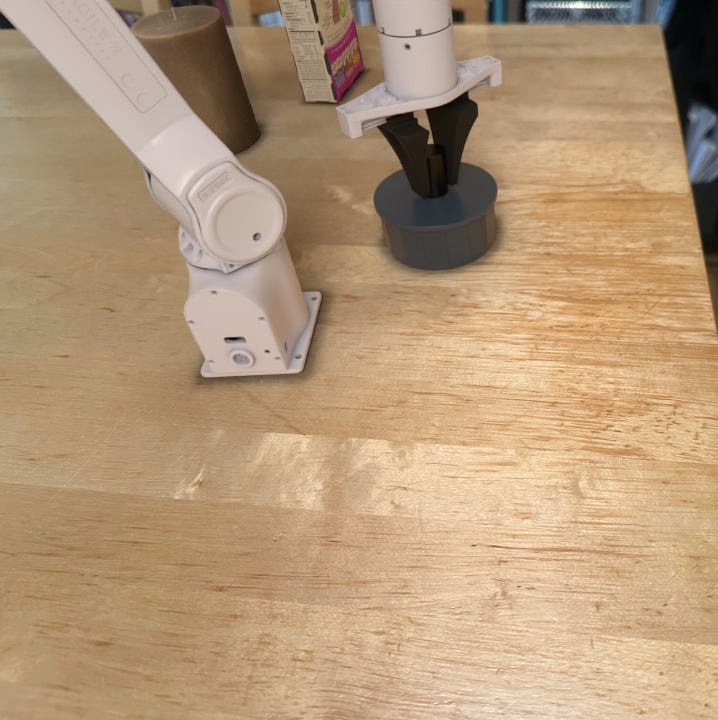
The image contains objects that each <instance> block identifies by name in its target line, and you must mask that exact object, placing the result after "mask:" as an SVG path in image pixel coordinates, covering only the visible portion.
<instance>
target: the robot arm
mask: <svg viewBox="0 0 718 720" xmlns="http://www.w3.org/2000/svg"><path fill="white" fill-rule="evenodd" d="M371 3H372V8H373V15H374V21H375V28H376V34H377V40H378V46H379V52H380V58H381V64H382V70H383V76H384V81H383V82H381V83H379V84H378V85H376V86H374V87H372V88H371V89H369V90H368V91H366V92H364V93H362V94H361V95H359V96H357V97H355V98H353V99H352V100H350V101H348V102H346V103H343V104H341V105H338V106H336V107H335V112H336V118H337V121H338V126H339V130H340V132H342V133H343V134H344V135H345V136H347V137H349V138H350V139H351V140H356V139H358V138H360V137H362V136H364V132H365V131H368V130H370V129H373V128H375V127H376V128H377V129H378V130H379V131H380V133H381V135H382V136H383V137H384V138H385V139H386V141H387V142H388V144H389V146H390V147H391V149H392V150H393V152H394V154H395V156H396V158H397V159H398V161H399V163H400V164H401V167H402V169H404V171H405V173H406V176H407V178H408V181H409V183H410V186H411V189H412V190H413V191H414V192H415V193H417V194H418V195H419V196H421V197H422V198H425V197H427V196H430V181H429V174H428V167H427V147H428V144H429V139H430V132H431V137H432V142H433V143H432V144H438V145H441V146H442V147H443V148H444V153H445V162H446V171H447V180H448V184H449V185H451V186H453V185H455V184H457V181H458V175H459V169H460V164H461V162H462V158H463V155H464V150H465V147H466V143H467V140H468V137H469V135H470V133H471V131H472V128H473V127H474V124H475V123H476V121H477V119H478V117H479V104H478V103H477V102H476V101H474V100H473V99H471V98H470V96H469V93H470V92H473V91H476V90H479V89H481V88H485V87H487V86H489V87H491V88H495V87H498V86H501V85H503V64H502V63H503V61H502V60H500V59H498V58H495V57H494V56H492V55H489V54H486V55H483V56H478V57H475V58H471V59H465V60H460V61H457V58H456V57H457V56H456V47H455V46H456V45H455V33H454V22H453V11H452V9H453V7H452V0H371ZM0 13H1V14H2V15H3V16H4V17H5V18H6V19H7V21H9V22H10V24H11V25H12V26H13V27H14V28H15V29H16V30H17V31H18V32H19V34H20V35H21V36H22V37H23V38H24V39H25V40H26V41H27V43H28V44H29V45H31V46H32V47H33V48H34V50H35V51H36V52H37V53H38V54H39V56H41V57H42V58H43V60H45V62H46V63H47V64H48V65H49V66H50V67H51V68H52V70H54V71H55V73H56V74H57V75H58V76H59V77H60V78H61V79H62V80H63V81H64V83H66V84H67V86H68V87H69V88H70V89H71V90H72V91H73V92H74V93H75V94H76V96H78V98H79V99H80V100H81V101H82V102H83V103H84V104H85V105H86V106H87V107H88V109H90V111H91V112H92V113H93V114H94V115H95V116H96V117H97V118H98V119H99V121H101V122H102V124H103V125H104V126H105V127H106V128H107V129H108V130H109V131H110V132H111V133H112V135H114V137H116V138H117V140H118V141H119V143H121V145H122V146H123V148H124V149H125V150H126V152H127V153H128V155H130V156H131V157H132V158H133V159H134V161H135V162H136V163H137V165H139V167H140V169H141V171H142V173H143V176H144V181H145V184H146V186H147V190H148V192H149V195H150V197H151V198H152V199H153V201H154V202H155V203H156V204H157V205H158V206H159V207H160V208H161V209H162V210H164V211H166V212H167V213H169V214H170V216H171V217H173V218H174V220H176V221H177V222H178V223H179V226H178V242H179V244H178V249H179V251H180V253H181V255H182V257H183V261H184V263H185V266H186V268H187V274H188V280H189V281H188V291H187V295H186V298H185V302H184V305H183V318H184V321H185V324H186V325H187V327H188V328H189V331H190V333H191V335H192V337H193V338H194V341H195V342H196V345H197V347H198V348H199V351H200V353H201V354H202V357H203V358H204V361H203V364H202V366H201V368H200V372H199V373H200V375H201V376H202V377H203V378H223V377H224V378H225V377H243V376H245V377H247V376H267V375H287V374H299V373H301V372H302V371H303V370H304V367H305V364H306V359H307V356H308V352H309V348H310V345H311V341H312V337H313V333H314V329H315V325H316V322H317V318H318V314H319V310H320V306H321V302H322V299H323V295H322V293H321V291H318V290H317V291H315V290H314V291H303V290H302V286H301V283H300V280H299V277H298V274H297V272H296V267H295V265H294V262H293V259H292V256H291V252H290V250H289V247H288V243H287V241H286V238H285V235H284V233H285V231H286V227H287V223H288V208H287V203H286V200H285V198H284V196H283V194H282V192H281V191H280V190H279V188H278V187H277V186H276V185H275V184H274V183H273V182H271V181H270V180H269V179H267V178H265V177H263V176H261V175H259V174H258V173H256V172H254V171H253V170H251V169H250V168H249V167H248V166H247V165H245V164H243V162H241V161H239V159H238V158H237V157H236V156H235V155H234V154H235V153H232V152H231V151H230V150H229V148H228V147H227V146H226V145H225V144H224V143H223V142H222V141H221V140H220V139H219V138H218V137H217V136H216V135H215V134H214V133H213V132H212V131H211V130H210V129H209V127H208V126H207V125H206V124H205V123H204V122H203V121H202V120H201V119H200V118H199V117H198V116H197V115H196V114H195V112H194V111H193V110H192V109H191V107H190V106H189V105H188V103H187V102H186V101H185V100H184V98H183V97H182V96H181V94H180V93H179V92H178V91H177V89H176V88H175V87H174V85H173V84H172V83H171V81H170V80H169V79H168V78H167V76H166V75H165V74H164V72H163V71H162V70H161V68H160V67H159V66H158V65H157V63H156V62H155V61H154V59H153V58H152V57H151V56H150V54H149V53H148V52H147V50H146V49H145V48H144V46H143V45H142V44H141V43H140V41H139V40H138V39H137V37H136V36H135V35H134V33H133V32H132V31H131V30H130V28H131V27H129V26H128V24H127V23H126V22H125V20H124V19H123V17H121V15H120V14H119V13H118V11H117V10H116V9H115V8H114V6H113V5H112V4H111V2H110V1H109V0H0ZM423 110H424V111H425V115H426V117H427V120H428V124H429V129H430V130H429V129H427V128H426V127H424V126H422V125H421V124H419V118H418V117H415V115H414V114H415V113H416V112H419V111H423Z"/></svg>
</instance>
